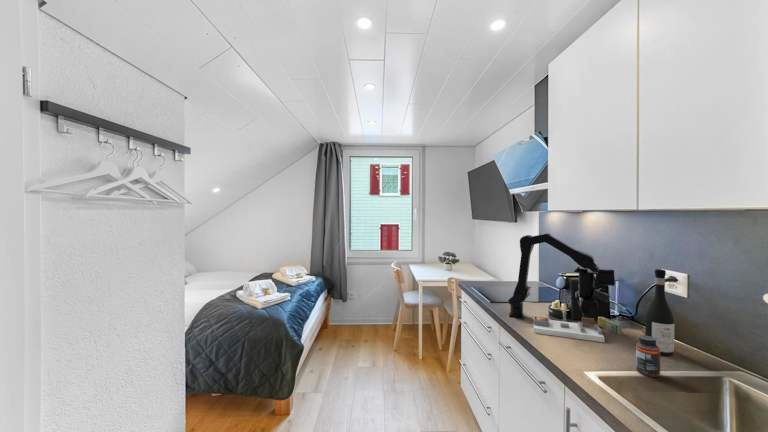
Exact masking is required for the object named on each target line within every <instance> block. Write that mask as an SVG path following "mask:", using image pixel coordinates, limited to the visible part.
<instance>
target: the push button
mask: <svg viewBox="0 0 768 432" xmlns="http://www.w3.org/2000/svg"><path fill="white" fill-rule="evenodd" d="M546 318H547V317H543V316H536V320H538V321H546Z"/></svg>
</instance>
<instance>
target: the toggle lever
mask: <svg viewBox="0 0 768 432" xmlns="http://www.w3.org/2000/svg"><path fill="white" fill-rule="evenodd" d="M567 314H568V313H567V311H565V310H563V311H561V315H562V321H563V322H567Z"/></svg>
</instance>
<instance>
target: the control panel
mask: <svg viewBox="0 0 768 432" xmlns="http://www.w3.org/2000/svg"><path fill="white" fill-rule="evenodd" d="M536 317H537V316H533V333H534V334H540V335H541V334H542V335H548V336H556V337H563V338H569V339H576V340H584V341H585V340H586V341H592V342H600V343H605V336H604V334H603V331H602V328H600V327H601V326H599V325H598V323H595V328H592V327H583V326H582V321H577V322H569V321H563V320H554V319H552V320H551V319H549V317H545V318H546V321H538V320H536Z"/></svg>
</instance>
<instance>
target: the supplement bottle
mask: <svg viewBox="0 0 768 432" xmlns="http://www.w3.org/2000/svg"><path fill="white" fill-rule="evenodd" d="M635 368H636V372H638V373H639V374H641V375H643V376H646V377H650V378H651V377H652V378H657V377H659V376H660V375H661V355H660V348H659V347H658V346H657V345H656V339H655V338H653V337H650V336H645V335H640V336H639V341H638V342H636V344H635Z"/></svg>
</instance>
